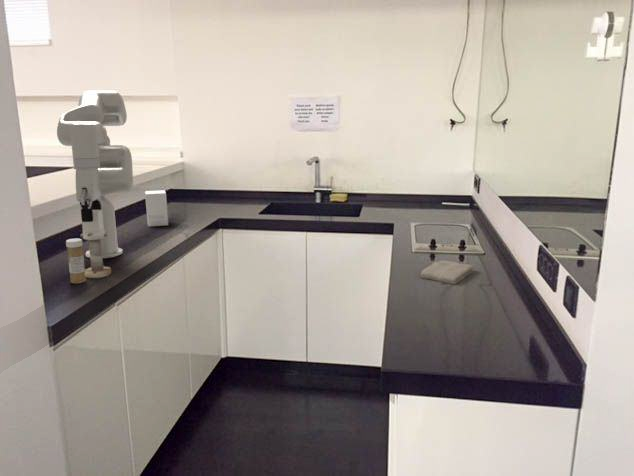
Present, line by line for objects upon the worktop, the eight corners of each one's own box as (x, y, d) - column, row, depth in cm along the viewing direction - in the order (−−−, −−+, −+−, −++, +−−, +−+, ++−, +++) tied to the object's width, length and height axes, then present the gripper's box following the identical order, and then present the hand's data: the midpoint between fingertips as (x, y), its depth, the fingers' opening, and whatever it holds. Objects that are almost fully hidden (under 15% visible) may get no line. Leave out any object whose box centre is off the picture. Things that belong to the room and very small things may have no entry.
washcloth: (474, 272, 179) (475, 263, 178) (455, 286, 165) (456, 277, 164) (440, 266, 186) (441, 257, 185) (419, 279, 171) (419, 270, 170)
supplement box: (167, 221, 251) (165, 189, 247) (168, 225, 242) (166, 192, 239) (147, 222, 248) (144, 190, 244) (147, 226, 240) (145, 193, 236)
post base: (88, 270, 176) (85, 235, 174) (113, 270, 177) (110, 235, 174) (81, 278, 169) (77, 241, 166) (107, 277, 170) (104, 241, 167)
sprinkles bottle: (73, 279, 168) (68, 238, 165) (88, 279, 168) (84, 237, 165) (68, 284, 164) (63, 241, 160) (83, 283, 164) (79, 241, 161)
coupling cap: (84, 235, 173) (81, 209, 171) (109, 234, 174) (107, 209, 172) (75, 242, 164) (72, 214, 162) (102, 241, 165) (100, 214, 163)
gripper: (82, 161, 172) (87, 213, 176) (64, 166, 155) (70, 224, 159) (106, 161, 173) (111, 213, 177) (91, 166, 156) (97, 223, 160)
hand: (92, 218), depth 168 cm, fingers open, 9 cm apart
